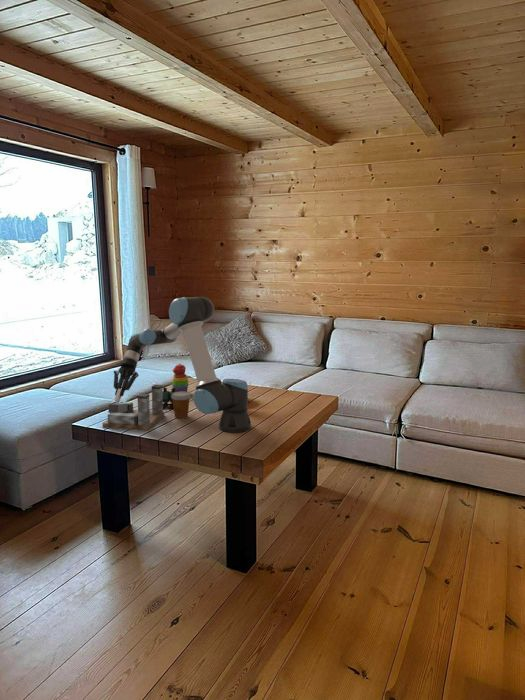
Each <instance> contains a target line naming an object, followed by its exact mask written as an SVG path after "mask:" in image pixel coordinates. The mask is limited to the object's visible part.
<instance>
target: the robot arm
mask: <svg viewBox="0 0 525 700" xmlns="http://www.w3.org/2000/svg"><path fill="white" fill-rule="evenodd" d="M214 306H215V305H214V304H213V302H212V301H211V300H210V299H209V298H208V297H205V296H193V297H192V296H190V297H189V296H188V297H185V296H184V297H177V298H175V299H173V300H172V302H171V303H170V305H169V308H168V316H169V320H170V321H171V323H170V324H169V325H167V326H166V327H164V328H162V329H157V330H153V329H151V328H146V329H144V330H142V331H141V332H139V333H132V335H131V336H130V338H129V339H128V340H129V341H128V343H127V347H126V350H125V353H124V355H123V358H122V361H121V364H120V367H119V368H118V370H114V371H113V374H114V376H113V378H114V379H113V388H114V389H115V392H114V395H115V397H114V401H115V403H120V402H121V399H122V397H123V396H124V394H125V392H126V391H130V389H131V388H132V386H133V383H134V382H135V380H136V379H137V378H138V377H139V373H138V372H137V371H136V369H137V367H138V362H139V359H140V356H141V353H142V351H143V349H145V348H147V347H150V346H156V345H165V344H172V343H175V342H176V341H177V339H178V337H180V336H181V335H183V336H184V341H185V344H186V347H187V350H188V351H187V352H188V354H189V358H190V361H191V365H192V367H193V371H194V374H195V378H196V381H197V384H196V386H195V389H196V390H195V391H194V393H193V403H194V406H195V407H196V409H197V410H198V411H199V412H200V413H202V414H203V415H210V414H216V413H219V412H221V414H220V415H221V416H220V419H219V421H218V429H219V430H221V431H223V432H225V431H227V432H226V433H233V432H236V433H244V432H247V431H249V430H250V429H251V428H252V422H251V418H250V416H249V413H248V402H249V401H248V397H249V395H248V394H249V393H248V392H249V389H248V383H247V381H245V380H243V379H238V378H224V379H222V380H221V379H220V378H218V377H217V375H216V372H215V369H214V365H213V362H212V358H211V355H210V352H209V349H208V344H207V342H206V338H205V336H204V331H203V329H202V326H203V324H205V323H207V322H208V321H209V320H211V319H212V318H213V316H214V314H215V307H214ZM246 430H247V431H246ZM243 431H244V432H243Z"/></svg>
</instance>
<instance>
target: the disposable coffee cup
mask: <svg viewBox="0 0 525 700" xmlns="http://www.w3.org/2000/svg"><path fill="white" fill-rule="evenodd" d="M171 397H172V400H173V407H174V409H173V411H174V417H175V418H176V419H181V420H182V419H186V418H188V416H189V410H190V409H189V406H190V398H191V394H190V392H189V391H188V392H185V391H179V392H174V393H172V396H171Z"/></svg>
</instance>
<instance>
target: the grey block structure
mask: <svg viewBox="0 0 525 700" xmlns="http://www.w3.org/2000/svg"><path fill="white" fill-rule="evenodd" d="M163 387H164V386H163V384H153V385H152V386H151V410H150V393H140V394H138V395H137V409H134V403H133V402H129V404H128V411H127V412H120V413H117V412H111V413H108V414H107V419H106V420H105V421H103V422H101V424H102V428H107V427H111V428H110V429H120V428H124V430H134V429H137V430H136V431H149V430H150V429H151V428H152V427H153V426H155V425H156V424H157V423H158V422H157V421H161V419H162V418H164V417H165V411H164V409H163V404H164V403H163V391H164V390H163ZM119 403H124V402H123V401H120V402H119ZM156 422H157V423H156ZM150 427H151V428H150ZM149 428H150V429H149ZM148 429H149V430H148Z"/></svg>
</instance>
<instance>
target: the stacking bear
mask: <svg viewBox="0 0 525 700" xmlns="http://www.w3.org/2000/svg"><path fill="white" fill-rule="evenodd" d="M186 369H187V368H186V366H185V365H183V364H181V363H179V364H176V365H175V367H173V369H172V372H173V373H174V374H173V376H172V380H171V384H172V385H171V386H172V388H175V391H176V392H179V391H185V392H189V391H188V389H189V378H188V375H186Z"/></svg>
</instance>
